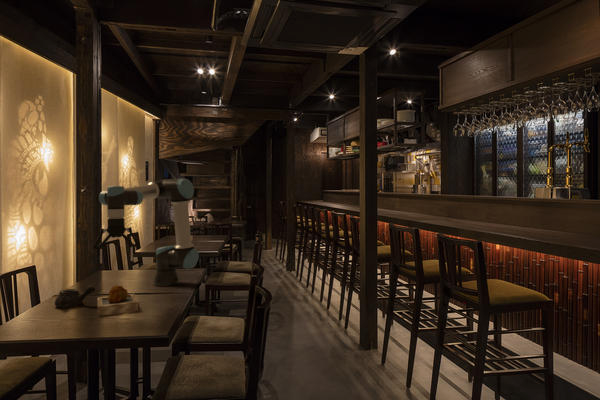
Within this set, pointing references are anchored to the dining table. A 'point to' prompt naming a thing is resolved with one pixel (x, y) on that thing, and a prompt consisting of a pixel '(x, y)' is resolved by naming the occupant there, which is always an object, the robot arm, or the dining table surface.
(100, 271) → the dining table surface
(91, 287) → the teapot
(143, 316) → the dining table surface
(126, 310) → the plinth
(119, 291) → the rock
